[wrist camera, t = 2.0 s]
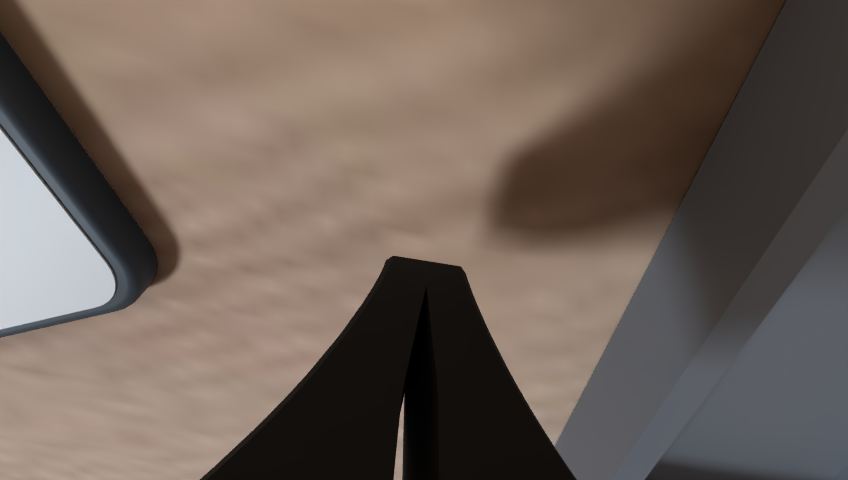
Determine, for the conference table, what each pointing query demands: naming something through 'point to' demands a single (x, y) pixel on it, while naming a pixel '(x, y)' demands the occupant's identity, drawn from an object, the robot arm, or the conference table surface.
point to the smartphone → (58, 218)
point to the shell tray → (742, 292)
